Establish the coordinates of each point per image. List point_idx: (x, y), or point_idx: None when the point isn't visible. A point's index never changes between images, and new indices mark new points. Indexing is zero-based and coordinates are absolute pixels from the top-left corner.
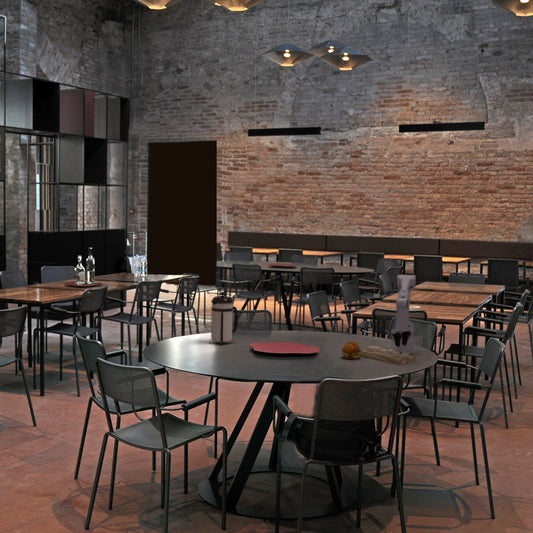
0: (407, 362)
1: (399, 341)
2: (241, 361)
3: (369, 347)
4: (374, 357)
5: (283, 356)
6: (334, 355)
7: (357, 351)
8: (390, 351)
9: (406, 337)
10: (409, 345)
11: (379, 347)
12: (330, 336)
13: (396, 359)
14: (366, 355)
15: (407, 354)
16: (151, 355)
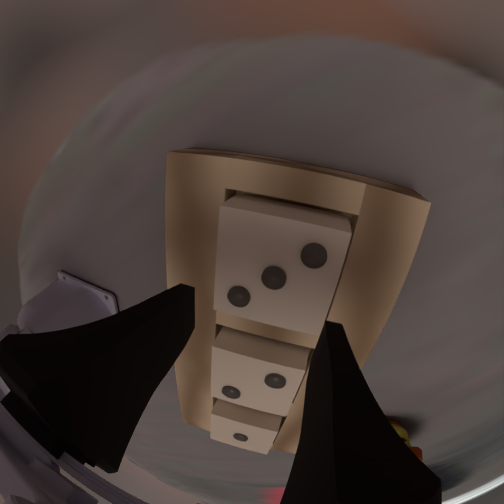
0: (307, 164)
1: (359, 380)
2: (493, 473)
3: (266, 448)
4: None
5: None
6: None
7: None
8: (274, 361)
9: (116, 360)
10: (55, 308)
11: (221, 422)
12: (151, 465)
13: (417, 236)
14: None
15: (245, 205)
16: (471, 500)
